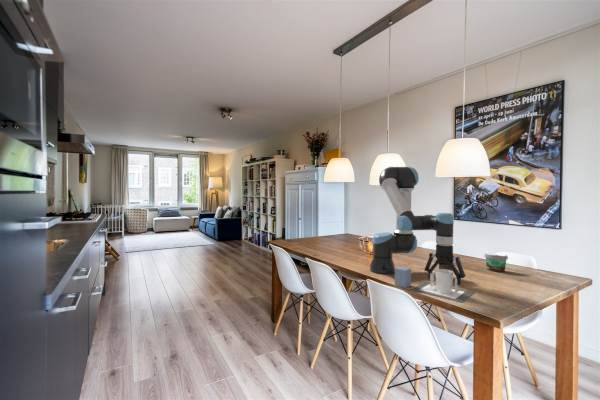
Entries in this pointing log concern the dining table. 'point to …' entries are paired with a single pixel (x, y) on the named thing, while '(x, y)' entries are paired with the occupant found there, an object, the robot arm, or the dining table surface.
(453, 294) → the letter
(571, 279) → the dining table surface
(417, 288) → the desk mat
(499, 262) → the food container
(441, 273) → the white cup
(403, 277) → the block
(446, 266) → the coffee cup
